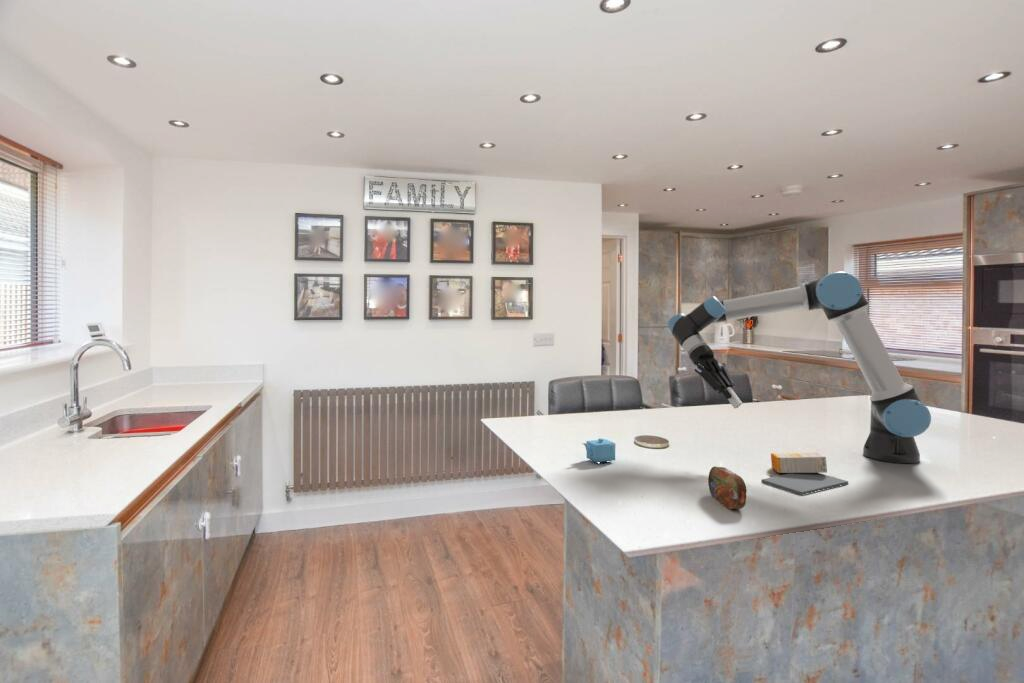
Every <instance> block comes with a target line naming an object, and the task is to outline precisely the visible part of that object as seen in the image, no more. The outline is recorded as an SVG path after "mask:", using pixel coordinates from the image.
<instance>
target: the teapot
mask: <svg viewBox="0 0 1024 683" xmlns="http://www.w3.org/2000/svg"><path fill="white" fill-rule="evenodd" d="M581 445H584V447H585V450H586V458H587V459H589V460H590V461H591V460H592V461H591V462H594V463H597V462H601V463H602V462H603V463H604V462H606V461H610V462H612V461H616V443H615V442H613V441H611V440H609V439H605V438H598V439H594V440H587V441H586V442H582V443H581Z"/></svg>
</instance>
